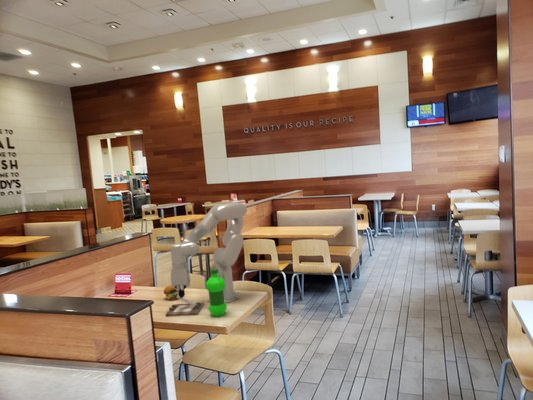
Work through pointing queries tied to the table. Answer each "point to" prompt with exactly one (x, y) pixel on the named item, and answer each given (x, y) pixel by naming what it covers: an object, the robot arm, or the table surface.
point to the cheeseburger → (170, 292)
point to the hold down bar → (185, 300)
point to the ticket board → (184, 309)
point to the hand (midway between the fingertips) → (181, 296)
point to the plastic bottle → (216, 293)
